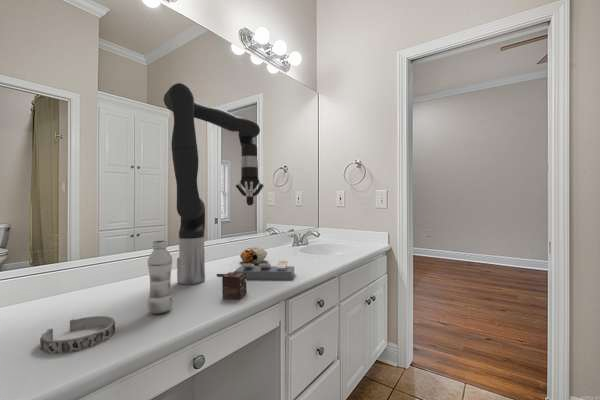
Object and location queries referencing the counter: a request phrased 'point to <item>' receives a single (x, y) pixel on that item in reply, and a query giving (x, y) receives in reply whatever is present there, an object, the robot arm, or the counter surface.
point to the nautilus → (253, 255)
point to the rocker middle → (264, 265)
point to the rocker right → (281, 265)
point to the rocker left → (248, 265)
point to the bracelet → (82, 342)
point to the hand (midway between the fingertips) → (250, 205)
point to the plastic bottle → (160, 278)
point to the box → (234, 285)
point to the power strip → (266, 273)
